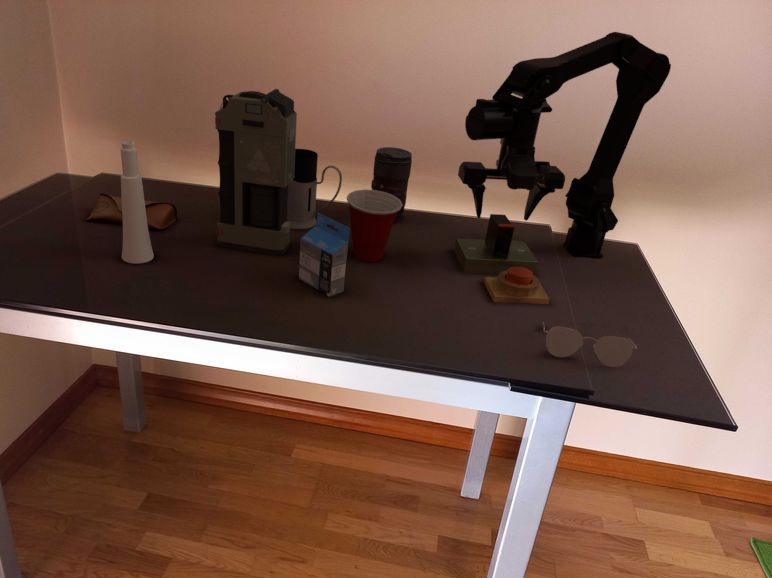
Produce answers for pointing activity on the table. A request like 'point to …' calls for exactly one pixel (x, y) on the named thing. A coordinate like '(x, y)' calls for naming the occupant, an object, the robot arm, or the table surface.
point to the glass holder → (305, 190)
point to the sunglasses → (606, 348)
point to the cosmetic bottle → (133, 209)
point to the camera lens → (392, 173)
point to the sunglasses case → (111, 212)
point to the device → (255, 170)
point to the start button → (519, 275)
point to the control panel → (492, 257)
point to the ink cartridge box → (324, 256)
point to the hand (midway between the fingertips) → (501, 218)
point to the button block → (515, 290)
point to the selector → (499, 235)
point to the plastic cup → (371, 222)
